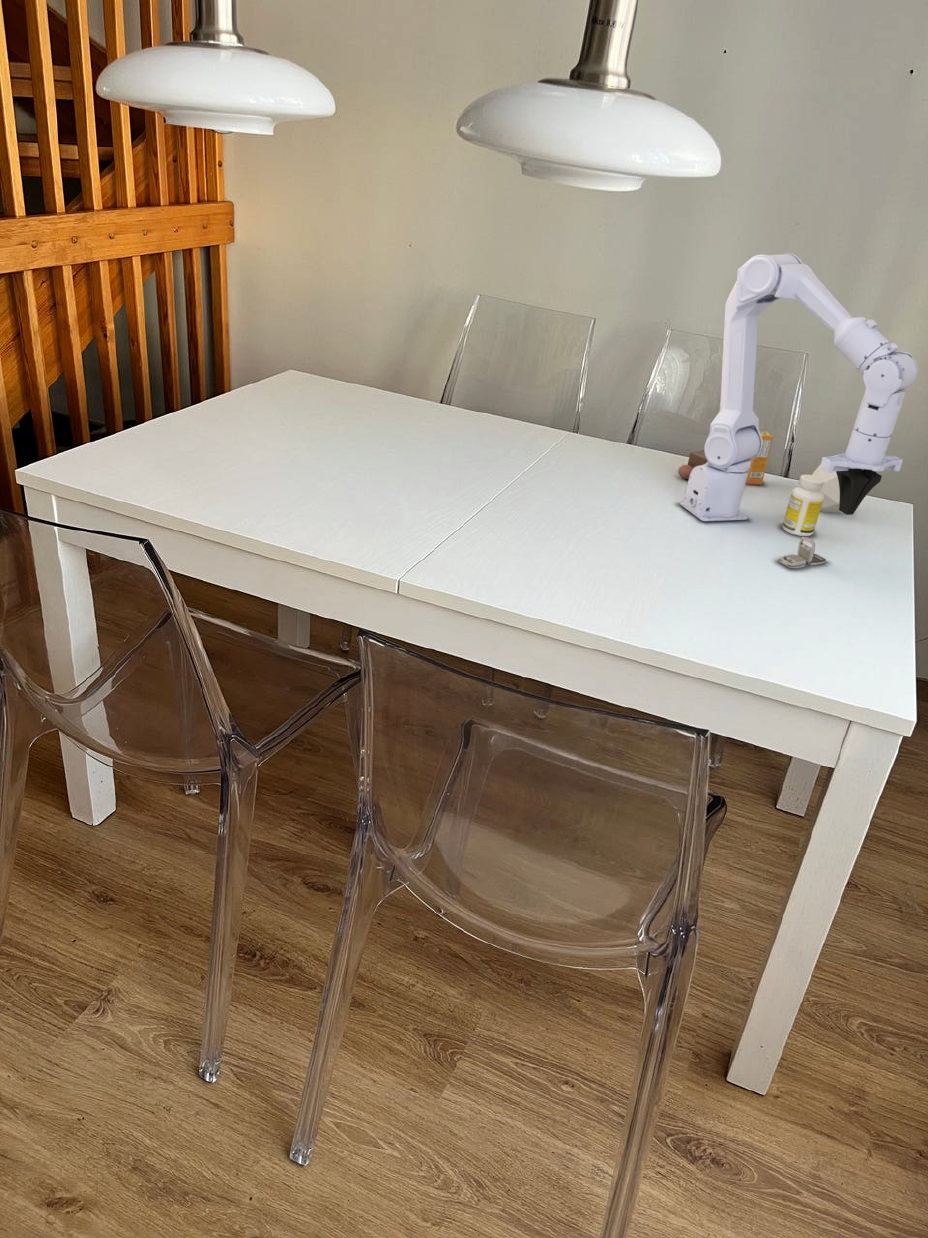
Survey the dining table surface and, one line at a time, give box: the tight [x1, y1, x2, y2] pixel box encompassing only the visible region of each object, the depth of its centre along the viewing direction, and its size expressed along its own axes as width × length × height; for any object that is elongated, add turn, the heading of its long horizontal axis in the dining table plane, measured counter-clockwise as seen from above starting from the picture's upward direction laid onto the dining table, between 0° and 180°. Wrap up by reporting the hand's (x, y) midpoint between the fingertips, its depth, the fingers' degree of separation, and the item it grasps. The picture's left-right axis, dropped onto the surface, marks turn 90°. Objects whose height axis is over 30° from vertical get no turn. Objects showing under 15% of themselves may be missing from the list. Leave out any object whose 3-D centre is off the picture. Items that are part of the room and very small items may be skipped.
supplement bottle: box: [782, 474, 824, 537], centre depth 169 cm, size 5×5×10 cm
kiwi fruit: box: [677, 464, 694, 480], centre depth 189 cm, size 6×5×3 cm
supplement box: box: [745, 430, 774, 486], centre depth 189 cm, size 3×3×10 cm
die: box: [811, 464, 842, 514], centre depth 181 cm, size 8×9×10 cm
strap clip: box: [778, 536, 827, 569], centre depth 157 cm, size 8×3×4 cm, turn 119°
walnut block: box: [687, 449, 708, 468], centre depth 189 cm, size 5×5×5 cm
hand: (846, 512), depth 157 cm, fingers closed
